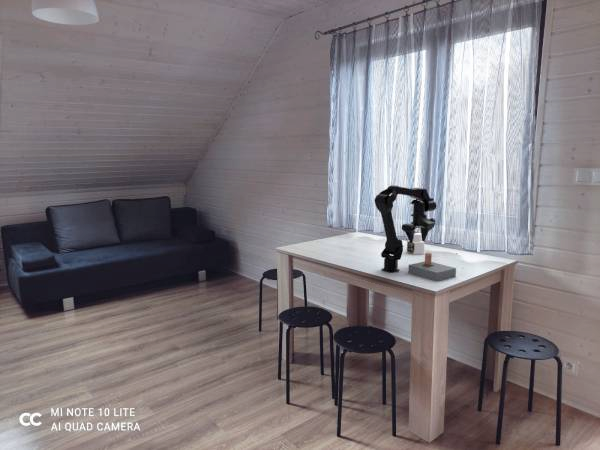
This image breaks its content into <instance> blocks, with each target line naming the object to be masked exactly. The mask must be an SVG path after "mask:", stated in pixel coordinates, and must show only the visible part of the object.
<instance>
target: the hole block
mask: <svg viewBox="0 0 600 450" xmlns="http://www.w3.org/2000/svg"><path fill="white" fill-rule="evenodd" d="M407 272H408V274H411V275H414V276H418V277H422V278H424V279H429V280H431V281H434V282H438V281H439V282H440V281H442V280H447V279H450V278H455V277H456V275H457V267H453V266H449V265H446V264H441V263H437V262H433V261H431V267H426V266H425V260H424V261H419V262H416V263H411V264H408V271H407Z"/></svg>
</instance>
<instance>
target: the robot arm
mask: <svg viewBox="0 0 600 450" xmlns="http://www.w3.org/2000/svg"><path fill="white" fill-rule="evenodd" d="M398 195H402V196H408V197H410V198H411V199H412V201H411V202H410V205H413V206H412V213H411V214H410V217H412V221H411V222H410V223H403V224H402V225H401V230H402V231H403V232H405V233H404V234H405V235H406V237H407V238H408V240H409V241H410V243H411V244H412V243H413V234H414V233H415V232H416V229H419V228H420V233H421V235H422V237H421V241H423V242H425V241H426V239H427V236H428V234H429V232H430V231H431V230H433V228H435V226H436V219H435V218H433V217H432V218H427V217H428V215H427V214H426V213H427V212H433V211H436V209H437V202H436V201H435V199H434V198H433V197H430V195H429V192H428V189H426V188H423V187H410V188H409V187H404V186H399V185H393V184H391V185H389V186H388V187H387V188H386V189H384V190H381V192H379V193H378V194H376V196H375V198H374V200H373V201H374V204H375V205H374V206H375V207H376V209H377V210H378V212H379V213H380V214H381V215H380V216H381V220H382V224H383V229H384V233H385V237H386V241H385V243H384V249H383V250H382V251H381V252H380V256H381V258H383V259H384V262H383V263H384V264H383V268H381V271H384V272H387V273H395V272H399V271H400V269H398V266H399V265H398V264H399V263H398V262H399V260H401V258H402V256H403V251H404V245H403V240H402V239H399V238H397V232H396V227H395V223H394V219H393V214H392V211H393V207H394V202H395V201H396V200H397V197H398ZM425 212H426V213H425Z"/></svg>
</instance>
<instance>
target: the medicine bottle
mask: <svg viewBox="0 0 600 450" xmlns="http://www.w3.org/2000/svg"><path fill="white" fill-rule="evenodd" d="M406 252H407V253H409V254H410V255H413V256H415V255H425V241H422V235H421V232H417V231H415V233H414V234H413V243H412V244H411V243H410V241H409V239H408V240H407V242H406Z"/></svg>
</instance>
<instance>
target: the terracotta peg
mask: <svg viewBox="0 0 600 450" xmlns="http://www.w3.org/2000/svg"><path fill="white" fill-rule="evenodd" d="M432 255H433V254H432V253H431V252H424V261H425V266H426V267H431V262H432Z"/></svg>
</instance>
